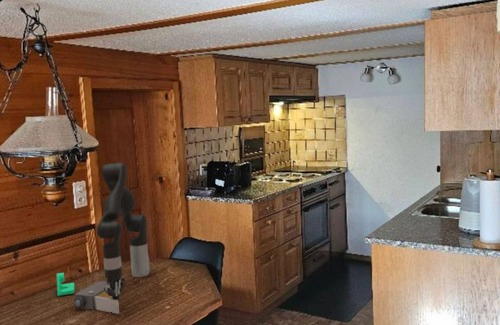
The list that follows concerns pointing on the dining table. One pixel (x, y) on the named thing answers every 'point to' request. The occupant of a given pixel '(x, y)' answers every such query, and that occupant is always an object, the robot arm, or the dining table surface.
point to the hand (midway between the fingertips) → (116, 303)
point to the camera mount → (64, 286)
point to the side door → (106, 304)
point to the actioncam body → (90, 295)
